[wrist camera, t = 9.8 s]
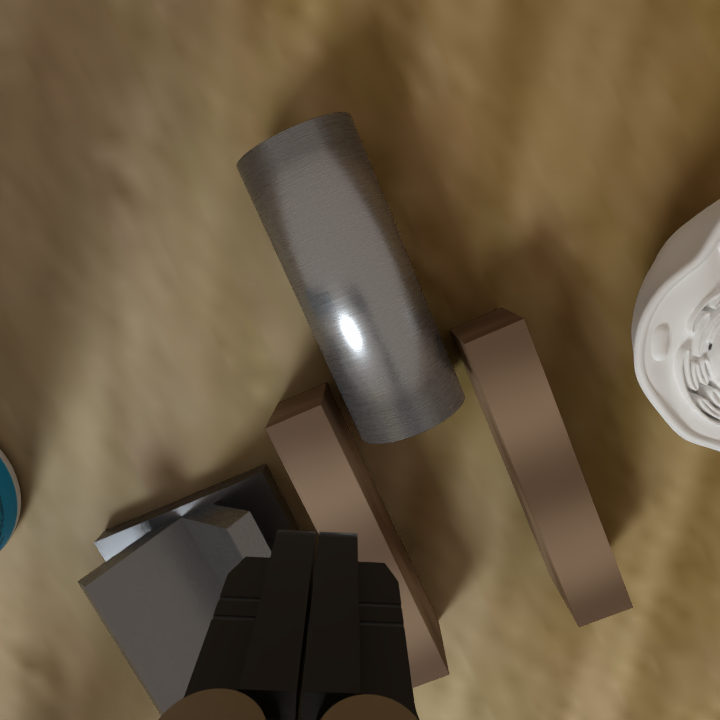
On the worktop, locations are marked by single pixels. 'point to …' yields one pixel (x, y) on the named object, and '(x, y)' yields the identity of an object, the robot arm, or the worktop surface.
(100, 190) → the worktop surface
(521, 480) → the slotted block
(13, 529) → the beverage bottle
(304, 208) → the grey metal cylinder
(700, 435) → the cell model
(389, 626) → the robot arm
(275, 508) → the v block
